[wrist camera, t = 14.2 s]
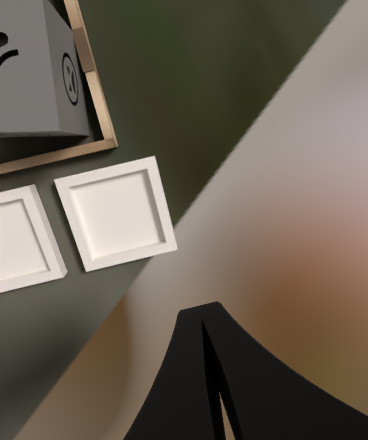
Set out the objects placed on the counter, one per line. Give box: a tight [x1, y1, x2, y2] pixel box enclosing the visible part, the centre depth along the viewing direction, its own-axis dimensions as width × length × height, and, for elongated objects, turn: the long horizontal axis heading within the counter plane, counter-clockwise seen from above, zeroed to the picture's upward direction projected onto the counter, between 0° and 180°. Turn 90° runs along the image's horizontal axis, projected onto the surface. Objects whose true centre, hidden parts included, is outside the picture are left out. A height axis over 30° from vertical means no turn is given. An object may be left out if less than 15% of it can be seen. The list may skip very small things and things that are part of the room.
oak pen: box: [0, 0, 118, 174], centre depth 15 cm, size 10×8×1 cm
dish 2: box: [54, 156, 178, 272], centre depth 17 cm, size 6×6×1 cm
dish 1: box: [0, 184, 67, 293], centre depth 17 cm, size 6×6×1 cm
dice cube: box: [0, 0, 89, 138], centre depth 13 cm, size 5×5×5 cm
